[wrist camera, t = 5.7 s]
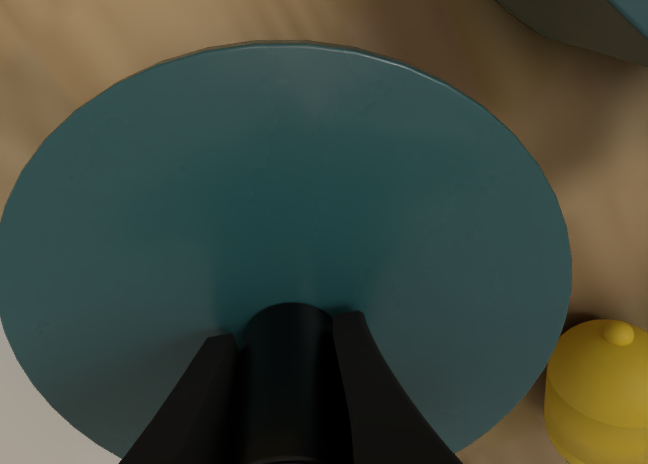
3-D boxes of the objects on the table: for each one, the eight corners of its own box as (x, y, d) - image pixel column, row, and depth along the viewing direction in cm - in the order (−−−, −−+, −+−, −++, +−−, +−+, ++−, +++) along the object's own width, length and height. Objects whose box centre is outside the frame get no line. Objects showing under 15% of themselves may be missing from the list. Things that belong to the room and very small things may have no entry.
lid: (571, -36, 8) (867, -41, 4) (539, 429, 15) (636, 619, 11) (-113, 112, 9) (-491, 246, 5) (146, 492, 16) (88, 692, 12)
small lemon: (643, 276, 19) (734, 358, 15) (616, 412, 23) (682, 504, 19) (530, 296, 19) (590, 382, 15) (525, 426, 23) (570, 520, 19)
